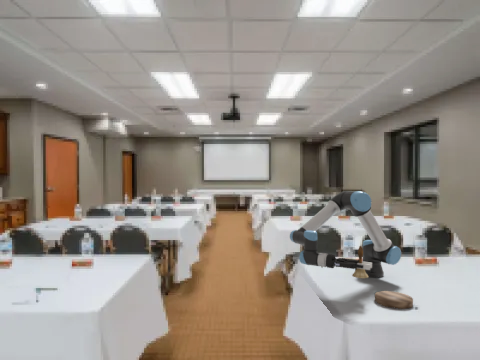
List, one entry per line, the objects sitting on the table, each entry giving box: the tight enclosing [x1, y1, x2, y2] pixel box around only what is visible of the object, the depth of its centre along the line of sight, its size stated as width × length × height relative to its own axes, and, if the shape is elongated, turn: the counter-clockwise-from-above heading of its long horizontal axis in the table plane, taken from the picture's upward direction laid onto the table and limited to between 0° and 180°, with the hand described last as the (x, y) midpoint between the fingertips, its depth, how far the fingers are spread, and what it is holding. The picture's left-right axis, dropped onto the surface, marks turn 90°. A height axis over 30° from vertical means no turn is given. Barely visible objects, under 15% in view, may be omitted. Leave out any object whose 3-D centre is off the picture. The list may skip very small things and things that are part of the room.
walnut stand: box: [374, 290, 414, 310], centre depth 180 cm, size 18×18×3 cm
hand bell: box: [351, 245, 370, 279], centre depth 186 cm, size 8×8×16 cm
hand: (371, 266), depth 183 cm, fingers closed on hand bell, 4 cm apart
